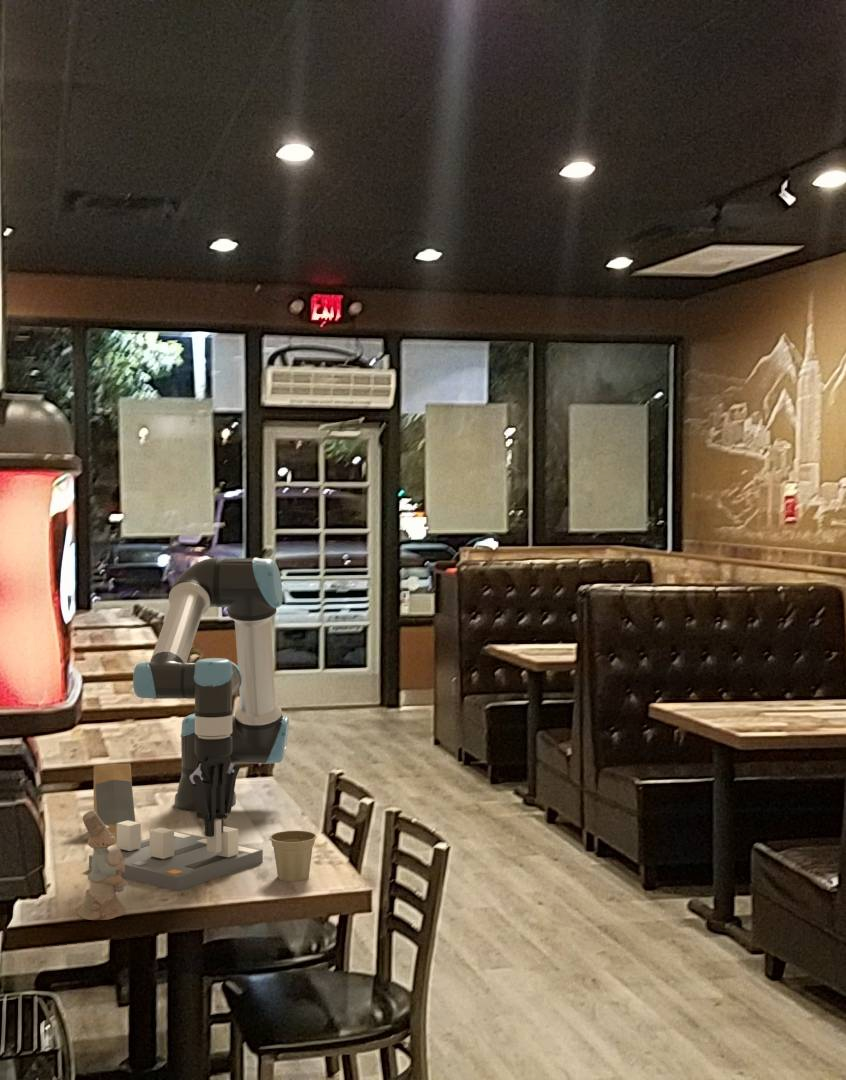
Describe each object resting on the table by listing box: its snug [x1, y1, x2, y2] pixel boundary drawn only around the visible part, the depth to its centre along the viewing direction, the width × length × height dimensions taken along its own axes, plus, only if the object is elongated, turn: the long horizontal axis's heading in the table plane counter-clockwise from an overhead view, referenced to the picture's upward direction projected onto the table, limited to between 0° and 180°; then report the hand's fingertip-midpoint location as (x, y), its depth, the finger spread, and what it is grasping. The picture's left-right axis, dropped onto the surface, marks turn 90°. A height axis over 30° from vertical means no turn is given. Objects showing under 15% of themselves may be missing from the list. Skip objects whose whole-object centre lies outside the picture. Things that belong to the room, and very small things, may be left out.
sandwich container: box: [93, 763, 136, 844], centre depth 286 cm, size 9×15×15 cm, turn 19°
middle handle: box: [149, 827, 175, 859], centre depth 258 cm, size 3×4×5 cm
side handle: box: [116, 820, 142, 851], centre depth 264 cm, size 3×4×5 cm
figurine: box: [77, 810, 129, 921], centre depth 230 cm, size 9×8×20 cm
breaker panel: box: [88, 830, 264, 892], centre depth 261 cm, size 24×26×3 cm
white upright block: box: [214, 825, 239, 857], centre depth 259 cm, size 3×4×5 cm
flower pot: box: [269, 829, 318, 882], centre depth 253 cm, size 9×9×9 cm
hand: (214, 850), depth 256 cm, fingers closed
